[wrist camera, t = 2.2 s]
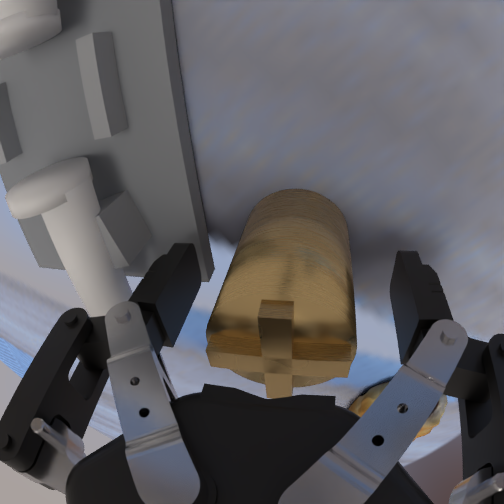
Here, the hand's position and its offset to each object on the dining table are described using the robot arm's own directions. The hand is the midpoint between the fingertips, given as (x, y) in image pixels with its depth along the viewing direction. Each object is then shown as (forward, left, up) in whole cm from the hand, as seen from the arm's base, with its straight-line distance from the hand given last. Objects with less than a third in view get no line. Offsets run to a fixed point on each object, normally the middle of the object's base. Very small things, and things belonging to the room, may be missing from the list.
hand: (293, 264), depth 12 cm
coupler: (0, 0, -2) cm, 2 cm away
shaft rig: (-8, -10, -2) cm, 13 cm away
